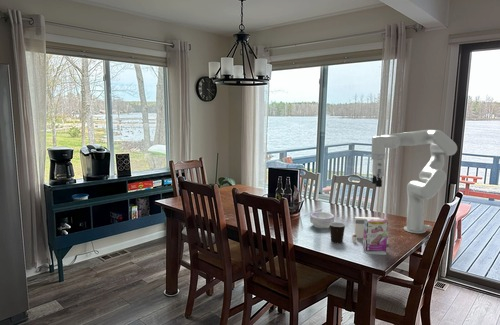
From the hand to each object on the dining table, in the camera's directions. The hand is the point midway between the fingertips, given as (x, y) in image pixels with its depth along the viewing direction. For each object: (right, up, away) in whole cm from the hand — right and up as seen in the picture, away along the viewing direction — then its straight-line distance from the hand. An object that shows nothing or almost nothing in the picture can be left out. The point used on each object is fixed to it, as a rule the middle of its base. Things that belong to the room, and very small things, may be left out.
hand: (376, 185), depth 202 cm
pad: (-10, -34, -22) cm, 41 cm away
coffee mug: (-27, -32, -9) cm, 43 cm away
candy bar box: (-10, -33, -22) cm, 41 cm away
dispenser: (-7, -31, -6) cm, 33 cm away
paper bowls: (-29, -29, +19) cm, 45 cm away
